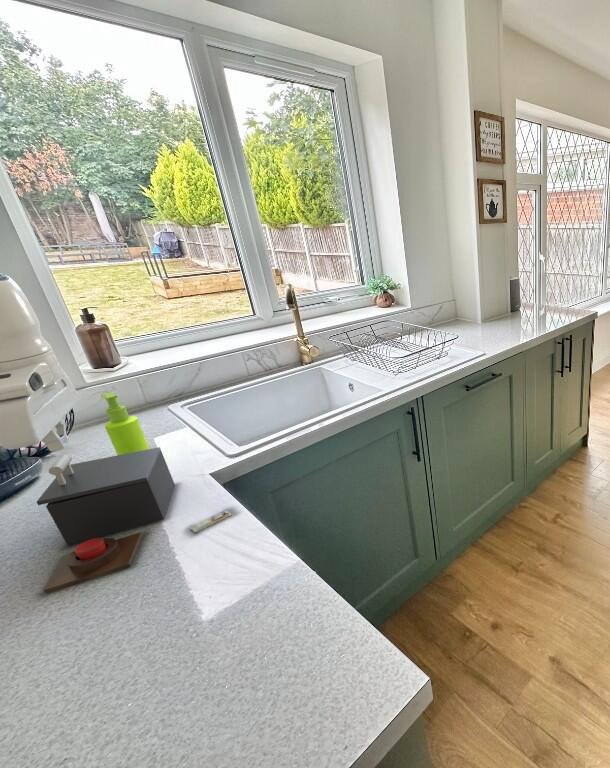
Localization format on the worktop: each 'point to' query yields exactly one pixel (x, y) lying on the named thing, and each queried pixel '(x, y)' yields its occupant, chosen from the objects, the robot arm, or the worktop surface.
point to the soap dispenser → (123, 428)
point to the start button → (90, 548)
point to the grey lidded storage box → (114, 507)
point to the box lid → (98, 474)
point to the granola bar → (210, 521)
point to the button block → (95, 563)
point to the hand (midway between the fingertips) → (60, 447)
